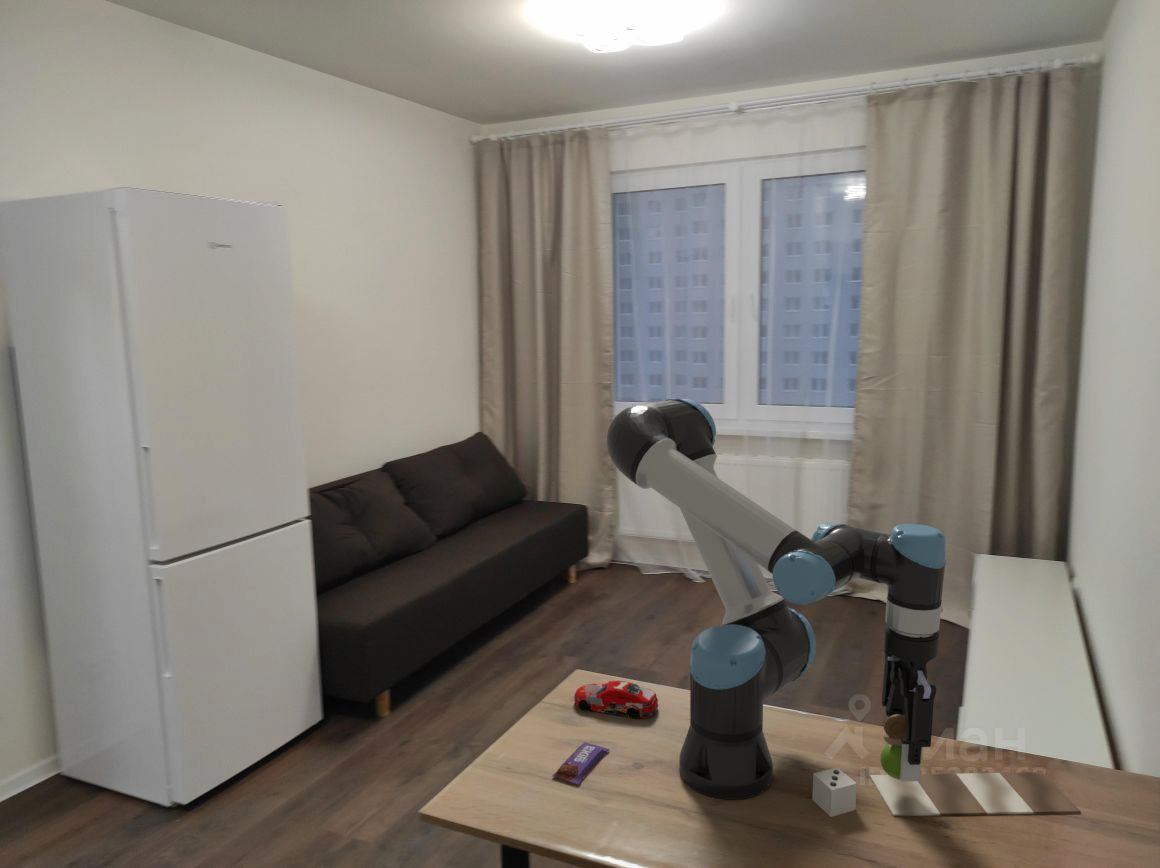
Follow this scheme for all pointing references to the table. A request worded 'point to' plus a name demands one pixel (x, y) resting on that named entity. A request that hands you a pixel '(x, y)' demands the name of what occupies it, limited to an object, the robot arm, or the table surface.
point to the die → (834, 791)
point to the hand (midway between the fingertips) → (901, 767)
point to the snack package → (580, 763)
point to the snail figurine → (893, 745)
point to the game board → (973, 794)
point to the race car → (617, 699)
